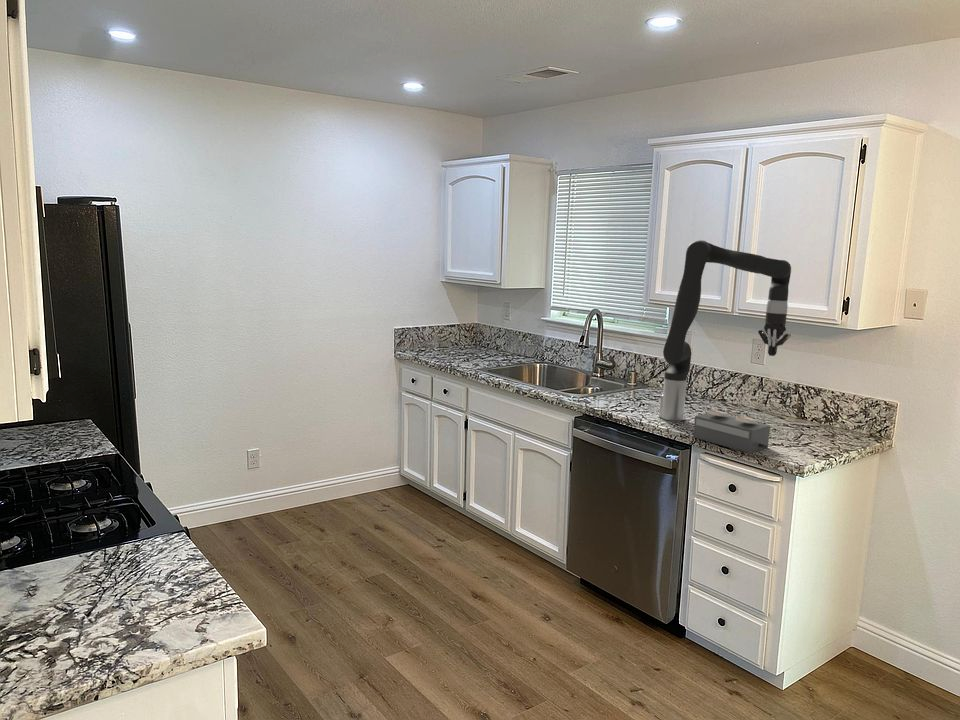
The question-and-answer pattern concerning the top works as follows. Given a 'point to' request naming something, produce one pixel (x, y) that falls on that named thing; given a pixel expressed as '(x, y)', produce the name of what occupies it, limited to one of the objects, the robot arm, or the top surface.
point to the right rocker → (746, 420)
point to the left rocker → (718, 413)
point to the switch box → (731, 432)
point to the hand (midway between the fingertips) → (772, 355)
